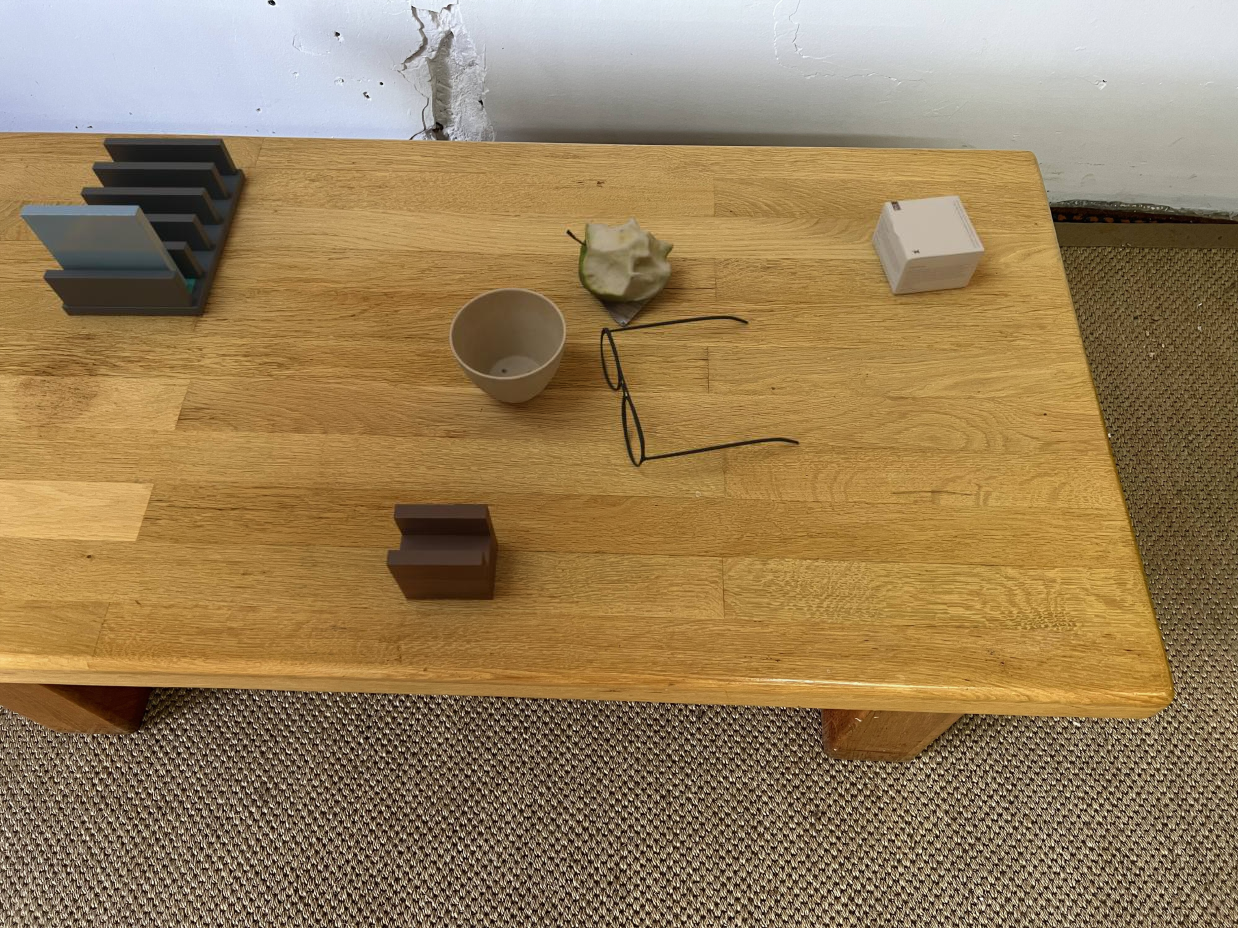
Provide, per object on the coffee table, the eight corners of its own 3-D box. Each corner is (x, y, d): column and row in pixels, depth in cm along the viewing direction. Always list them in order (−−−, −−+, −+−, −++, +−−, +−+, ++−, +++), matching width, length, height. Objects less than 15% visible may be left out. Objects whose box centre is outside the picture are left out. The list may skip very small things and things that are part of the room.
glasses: (596, 352, 82) (601, 317, 77) (743, 333, 85) (755, 298, 81) (635, 481, 75) (643, 450, 70) (793, 454, 78) (810, 423, 74)
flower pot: (591, 392, 79) (589, 343, 73) (496, 444, 76) (486, 398, 70) (534, 321, 83) (527, 270, 77) (442, 368, 81) (428, 319, 74)
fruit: (560, 304, 86) (548, 235, 80) (621, 257, 90) (614, 188, 84) (631, 339, 82) (624, 269, 76) (691, 288, 86) (689, 218, 80)
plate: (185, 293, 83) (135, 215, 75) (81, 292, 83) (19, 214, 75) (188, 283, 84) (139, 205, 75) (85, 283, 84) (24, 204, 75)
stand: (493, 600, 69) (481, 565, 63) (405, 599, 69) (385, 564, 63) (498, 543, 72) (487, 504, 66) (413, 542, 72) (395, 503, 66)
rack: (202, 316, 84) (178, 279, 79) (67, 315, 84) (36, 278, 79) (246, 177, 93) (227, 137, 89) (125, 176, 93) (100, 136, 89)
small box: (968, 288, 86) (987, 251, 81) (891, 296, 85) (907, 259, 81) (942, 231, 90) (959, 193, 85) (869, 239, 89) (882, 200, 84)
